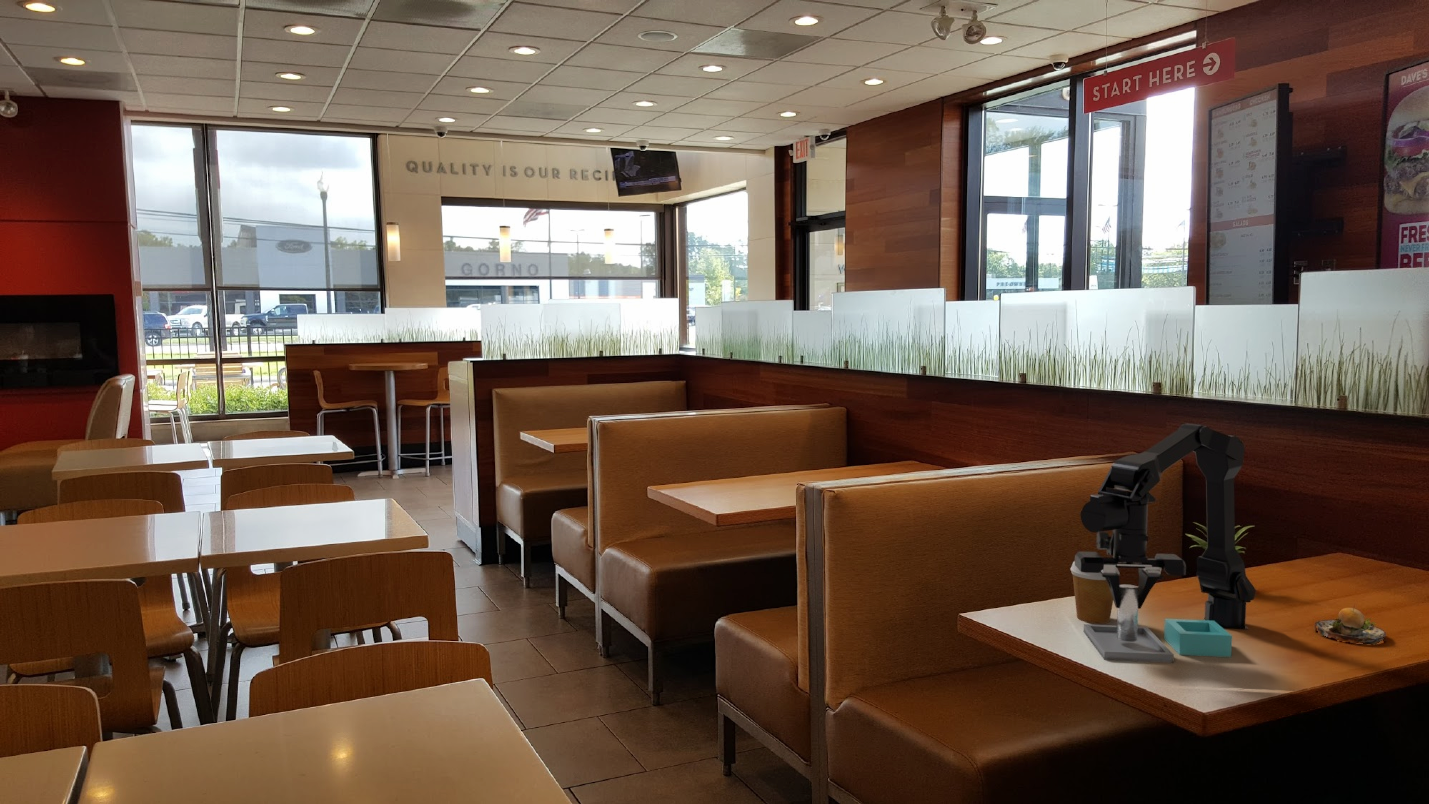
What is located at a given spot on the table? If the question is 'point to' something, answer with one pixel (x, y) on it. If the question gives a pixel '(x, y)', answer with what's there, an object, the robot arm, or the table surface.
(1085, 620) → the disposable coffee cup
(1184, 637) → the teal square open box
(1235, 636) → the table surface
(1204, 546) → the house plant
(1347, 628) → the burger
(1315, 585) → the table surface
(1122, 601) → the steel pin
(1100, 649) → the charcoal tray
